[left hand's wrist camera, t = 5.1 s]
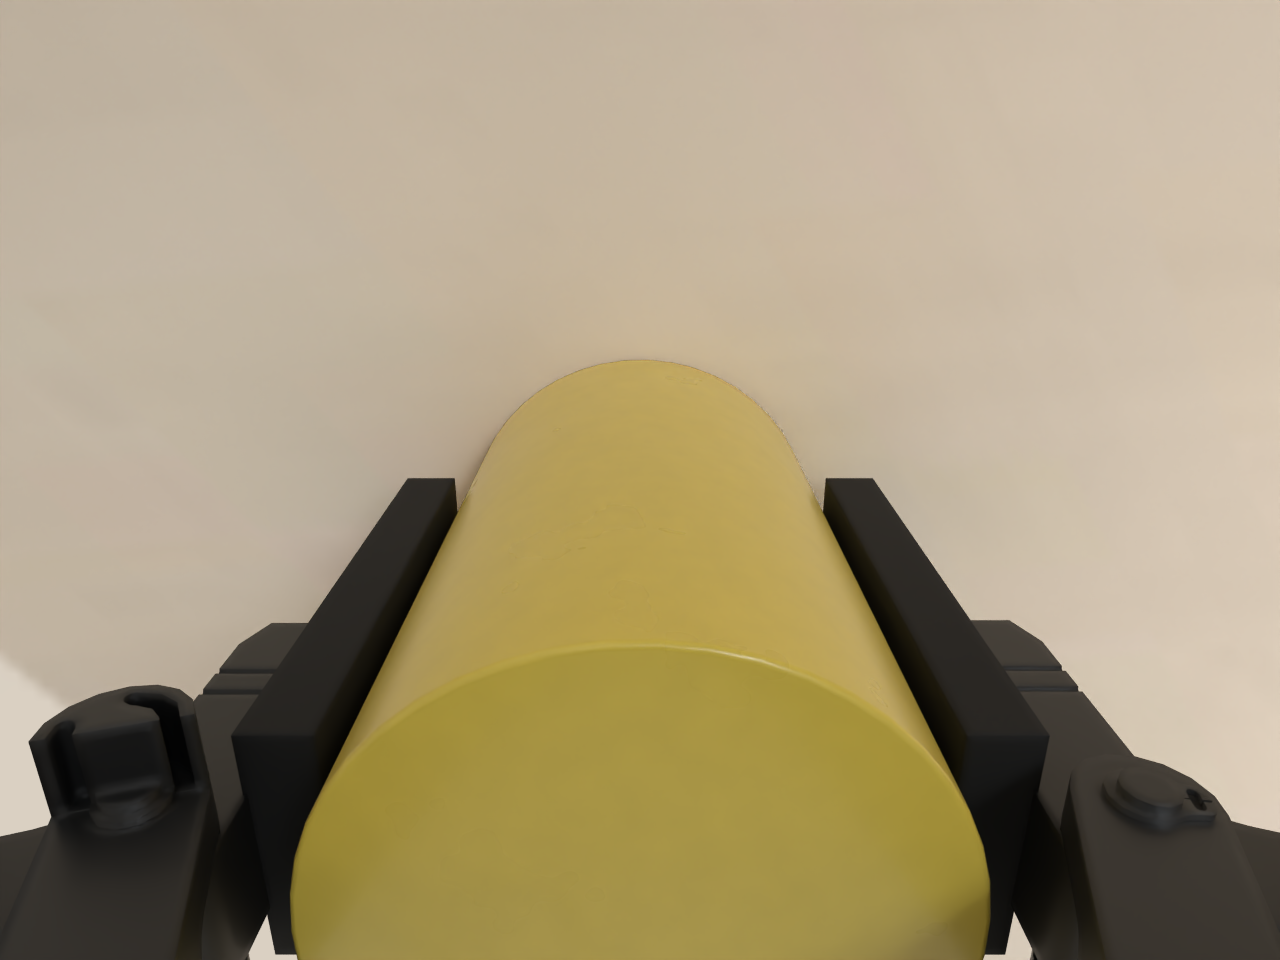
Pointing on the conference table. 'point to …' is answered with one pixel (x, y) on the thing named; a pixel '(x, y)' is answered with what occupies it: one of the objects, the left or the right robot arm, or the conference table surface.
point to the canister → (640, 717)
